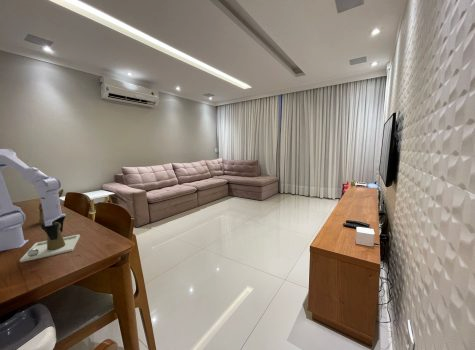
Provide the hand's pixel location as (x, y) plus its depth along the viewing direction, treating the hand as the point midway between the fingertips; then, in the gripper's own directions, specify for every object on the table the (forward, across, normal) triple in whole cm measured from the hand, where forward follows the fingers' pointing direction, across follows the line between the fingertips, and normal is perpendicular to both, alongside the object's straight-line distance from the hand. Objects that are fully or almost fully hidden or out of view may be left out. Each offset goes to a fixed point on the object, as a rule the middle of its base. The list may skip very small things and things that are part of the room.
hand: (56, 235), depth 87 cm
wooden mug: (+6, +48, +13) cm, 50 cm away
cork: (+5, 0, +1) cm, 5 cm away
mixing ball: (+5, -5, +7) cm, 10 cm away
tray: (+6, 0, +2) cm, 6 cm away
